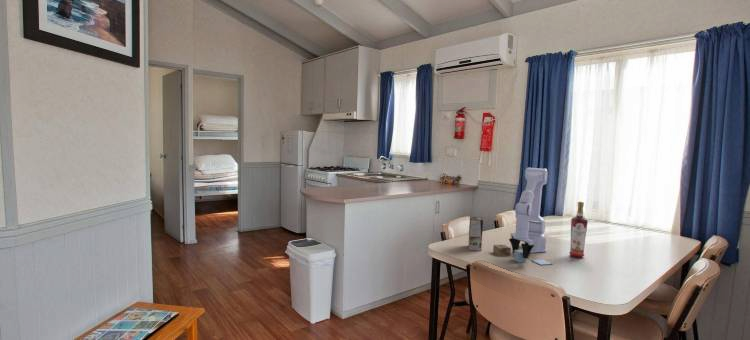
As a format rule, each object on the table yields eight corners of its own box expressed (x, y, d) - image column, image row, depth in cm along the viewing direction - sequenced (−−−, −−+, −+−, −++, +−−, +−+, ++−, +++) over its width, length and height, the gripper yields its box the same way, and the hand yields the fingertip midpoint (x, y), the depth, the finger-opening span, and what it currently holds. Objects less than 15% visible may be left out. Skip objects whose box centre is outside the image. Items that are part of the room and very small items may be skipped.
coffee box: (481, 251, 193) (483, 220, 191) (468, 250, 194) (470, 219, 193) (480, 246, 202) (481, 217, 200) (468, 245, 203) (469, 216, 201)
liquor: (569, 257, 186) (573, 202, 184) (567, 253, 193) (571, 200, 191) (585, 259, 184) (590, 203, 181) (583, 255, 190) (587, 201, 188)
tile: (542, 259, 181) (542, 259, 181) (552, 264, 175) (552, 263, 175) (530, 260, 179) (530, 259, 179) (540, 265, 173) (540, 264, 173)
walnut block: (503, 252, 193) (504, 244, 193) (510, 255, 187) (510, 247, 187) (493, 252, 192) (493, 244, 191) (499, 256, 186) (500, 248, 186)
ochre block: (522, 254, 190) (523, 244, 189) (529, 256, 186) (529, 246, 186) (517, 255, 188) (517, 245, 187) (523, 257, 184) (524, 247, 184)
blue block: (520, 259, 181) (521, 249, 181) (526, 262, 177) (527, 252, 177) (513, 260, 180) (514, 249, 179) (519, 262, 176) (519, 252, 176)
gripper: (505, 224, 183) (504, 251, 184) (524, 231, 169) (522, 260, 170) (518, 224, 185) (516, 250, 186) (538, 231, 171) (535, 260, 172)
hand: (520, 255), depth 178 cm, fingers open, 7 cm apart
